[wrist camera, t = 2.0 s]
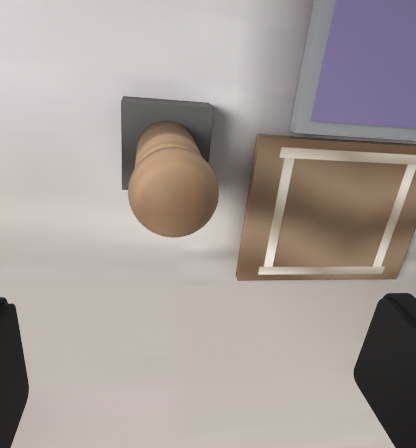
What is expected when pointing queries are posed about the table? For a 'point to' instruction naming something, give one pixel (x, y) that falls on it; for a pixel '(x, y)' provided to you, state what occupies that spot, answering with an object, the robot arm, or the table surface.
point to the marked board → (328, 209)
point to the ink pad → (358, 70)
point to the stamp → (168, 164)
